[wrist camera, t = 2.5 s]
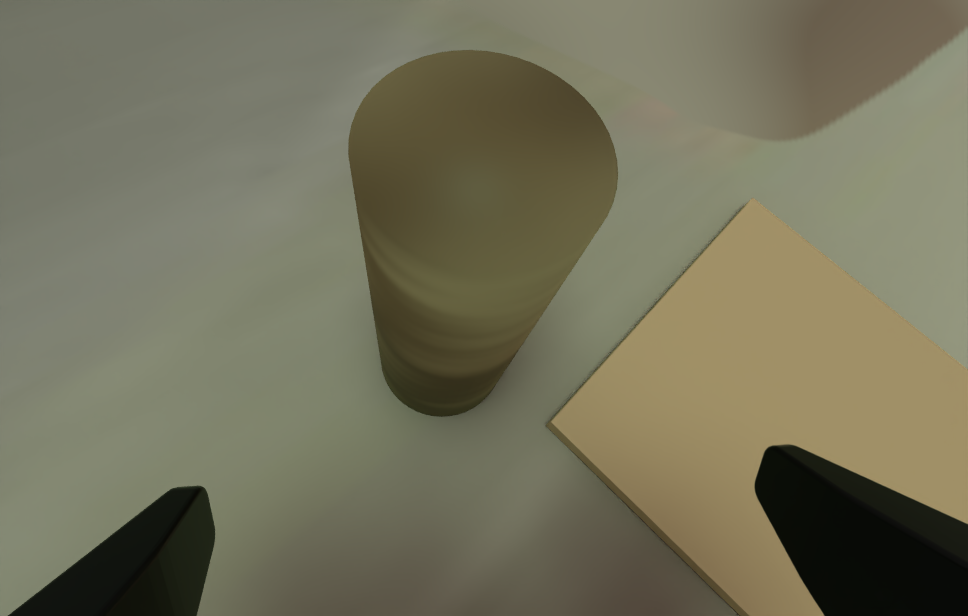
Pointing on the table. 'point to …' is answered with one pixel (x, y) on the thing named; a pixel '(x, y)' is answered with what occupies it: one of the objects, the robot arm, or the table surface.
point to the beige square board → (765, 405)
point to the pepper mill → (471, 214)
